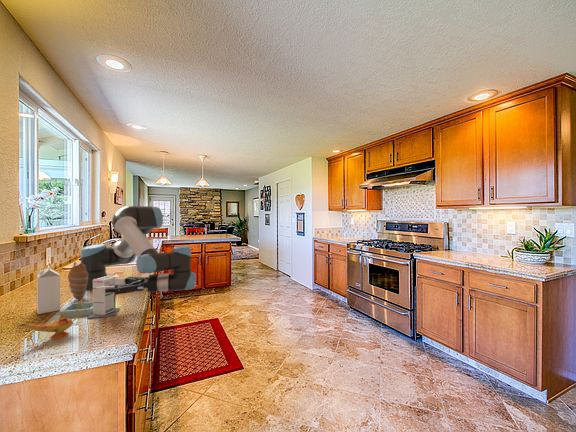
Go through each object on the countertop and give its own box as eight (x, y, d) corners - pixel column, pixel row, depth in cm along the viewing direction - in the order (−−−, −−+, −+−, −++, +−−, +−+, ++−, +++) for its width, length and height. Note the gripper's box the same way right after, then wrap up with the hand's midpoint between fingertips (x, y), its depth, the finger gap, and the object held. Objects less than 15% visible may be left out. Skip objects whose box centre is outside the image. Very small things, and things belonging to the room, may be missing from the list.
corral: (71, 308, 119) (71, 303, 119) (100, 306, 122) (100, 301, 122) (59, 317, 109) (59, 311, 109) (90, 315, 112) (90, 309, 112)
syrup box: (104, 315, 111) (104, 279, 110) (92, 314, 112) (92, 278, 112) (115, 310, 116) (116, 276, 116) (104, 309, 117) (104, 275, 117)
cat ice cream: (63, 300, 130) (63, 263, 130) (80, 296, 137) (80, 260, 137) (77, 302, 127) (77, 264, 127) (93, 297, 135) (93, 261, 135)
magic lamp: (14, 343, 87) (14, 309, 87) (82, 326, 101) (83, 296, 101) (17, 350, 83) (17, 314, 83) (88, 331, 97) (88, 300, 97)
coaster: (95, 311, 117) (95, 309, 117) (119, 309, 120) (119, 307, 120) (87, 318, 108) (87, 317, 108) (113, 316, 111) (113, 315, 111)
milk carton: (58, 306, 122) (58, 264, 122) (60, 310, 117) (60, 266, 117) (36, 310, 117) (37, 266, 117) (37, 314, 112) (37, 268, 112)
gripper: (153, 300, 108) (90, 304, 101) (162, 284, 132) (112, 287, 125) (153, 281, 108) (90, 284, 101) (162, 268, 131) (112, 271, 125)
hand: (102, 286), depth 113 cm, fingers open, 13 cm apart
